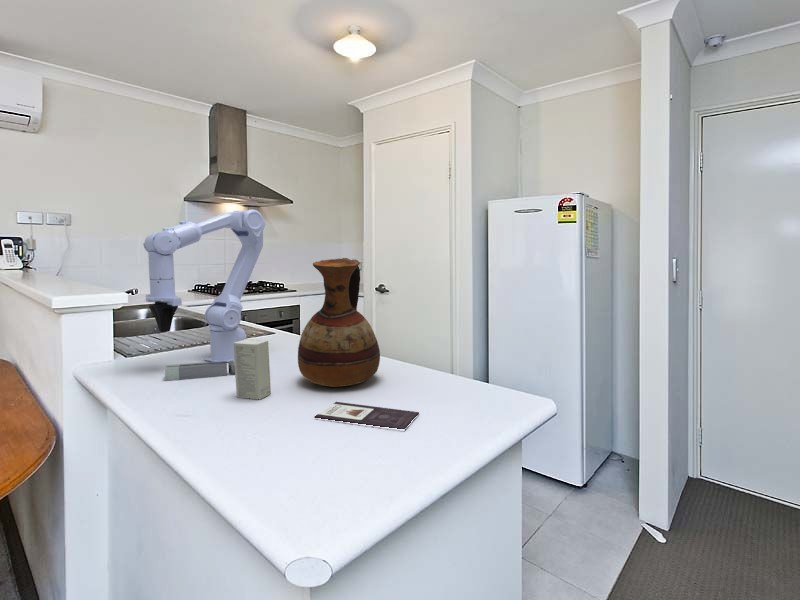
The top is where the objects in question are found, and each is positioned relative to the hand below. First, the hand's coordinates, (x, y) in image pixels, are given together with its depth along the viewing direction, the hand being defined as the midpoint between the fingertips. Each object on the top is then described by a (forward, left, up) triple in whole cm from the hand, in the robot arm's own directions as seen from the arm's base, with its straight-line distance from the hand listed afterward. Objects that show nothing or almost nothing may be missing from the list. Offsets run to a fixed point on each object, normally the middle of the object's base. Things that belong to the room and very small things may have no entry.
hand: (164, 331), depth 121 cm
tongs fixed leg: (-3, +12, -10) cm, 16 cm away
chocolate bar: (-5, +64, -11) cm, 65 cm away
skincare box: (0, +36, -11) cm, 37 cm away
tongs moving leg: (-1, +12, -10) cm, 16 cm away
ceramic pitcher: (-20, +43, -11) cm, 48 cm away
